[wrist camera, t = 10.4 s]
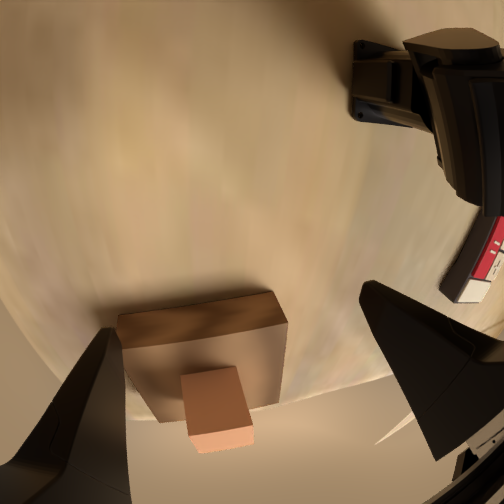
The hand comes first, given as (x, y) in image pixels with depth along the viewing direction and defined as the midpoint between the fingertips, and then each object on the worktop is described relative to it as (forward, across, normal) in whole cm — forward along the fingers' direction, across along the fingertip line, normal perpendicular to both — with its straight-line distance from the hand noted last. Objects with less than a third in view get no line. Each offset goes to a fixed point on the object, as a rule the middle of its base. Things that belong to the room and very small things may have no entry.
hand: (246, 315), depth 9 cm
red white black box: (+13, -38, +11) cm, 41 cm away
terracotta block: (+8, +2, +17) cm, 19 cm away
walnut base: (+12, +2, +17) cm, 21 cm away
